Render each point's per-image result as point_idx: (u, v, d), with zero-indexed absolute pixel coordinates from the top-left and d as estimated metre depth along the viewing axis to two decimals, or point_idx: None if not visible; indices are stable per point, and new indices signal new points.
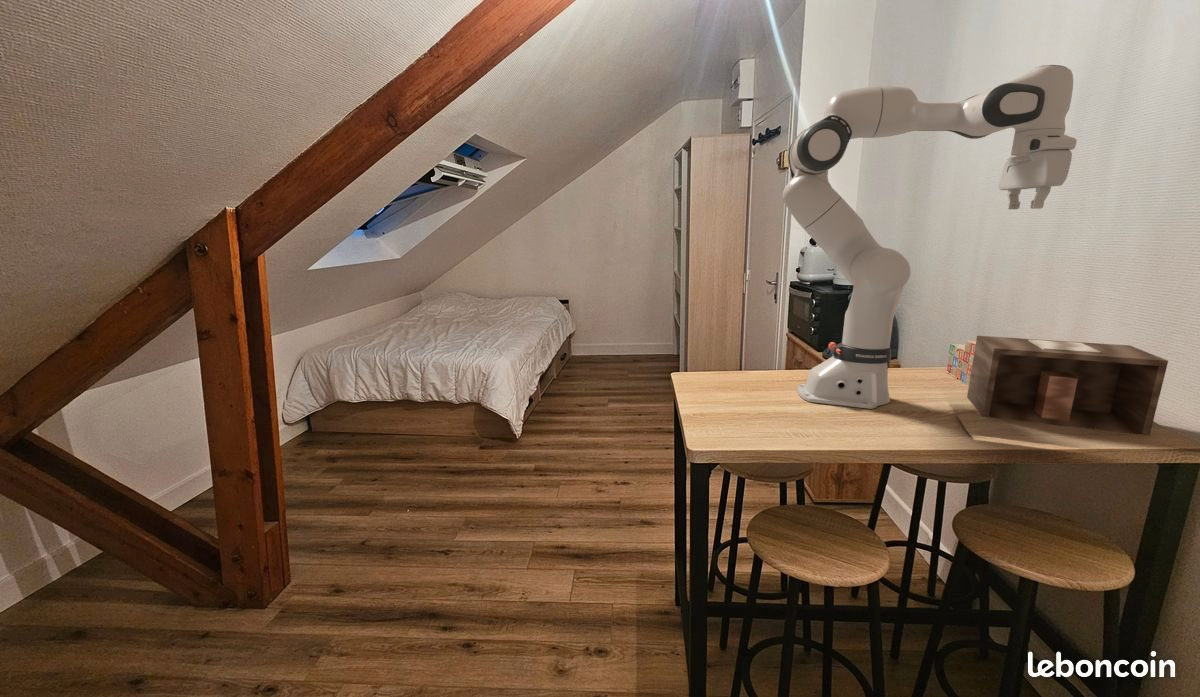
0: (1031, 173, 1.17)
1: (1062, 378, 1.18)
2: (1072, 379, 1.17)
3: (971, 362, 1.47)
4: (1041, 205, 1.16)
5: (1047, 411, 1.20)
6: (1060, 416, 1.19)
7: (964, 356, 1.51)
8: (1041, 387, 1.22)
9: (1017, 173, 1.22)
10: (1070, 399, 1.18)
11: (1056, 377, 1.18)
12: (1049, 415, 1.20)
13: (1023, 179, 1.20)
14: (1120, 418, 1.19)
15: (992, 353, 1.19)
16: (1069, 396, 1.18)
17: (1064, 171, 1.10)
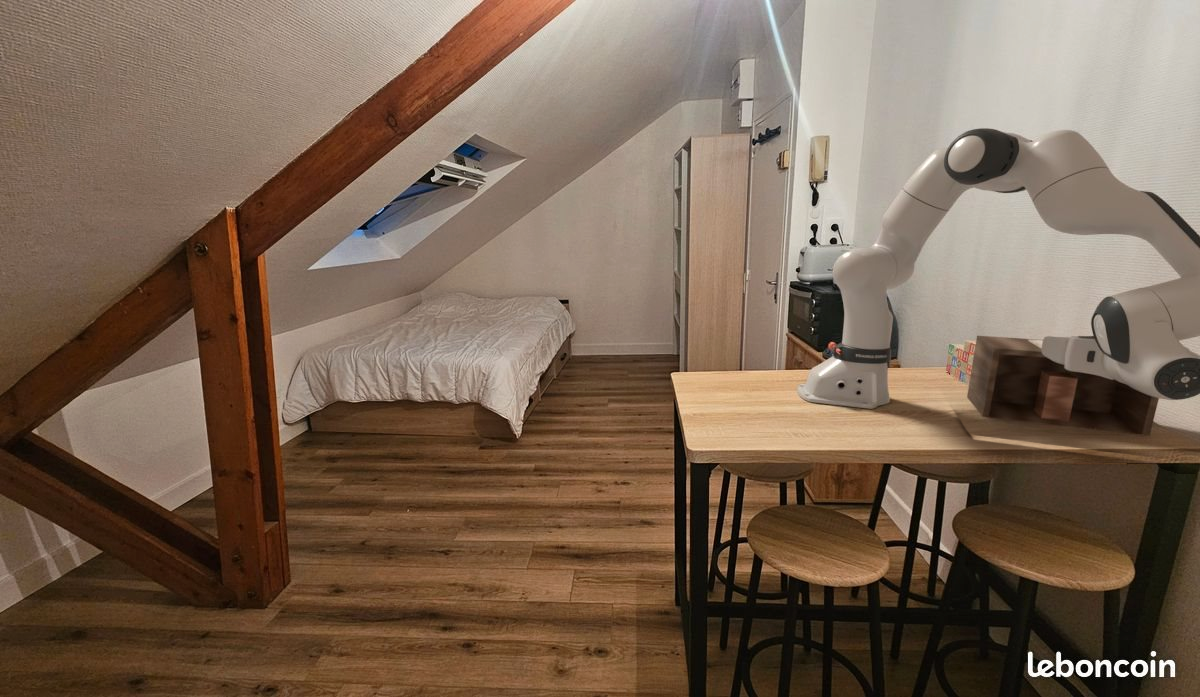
0: None
1: (1062, 378, 1.18)
2: (1072, 379, 1.17)
3: (970, 362, 1.47)
4: None
5: (1047, 411, 1.20)
6: (1060, 416, 1.19)
7: (963, 356, 1.51)
8: (1041, 387, 1.22)
9: None
10: (1070, 399, 1.18)
11: (1056, 377, 1.18)
12: (1049, 415, 1.20)
13: None
14: (1120, 418, 1.19)
15: (992, 353, 1.19)
16: (1069, 396, 1.18)
17: (1045, 353, 1.04)
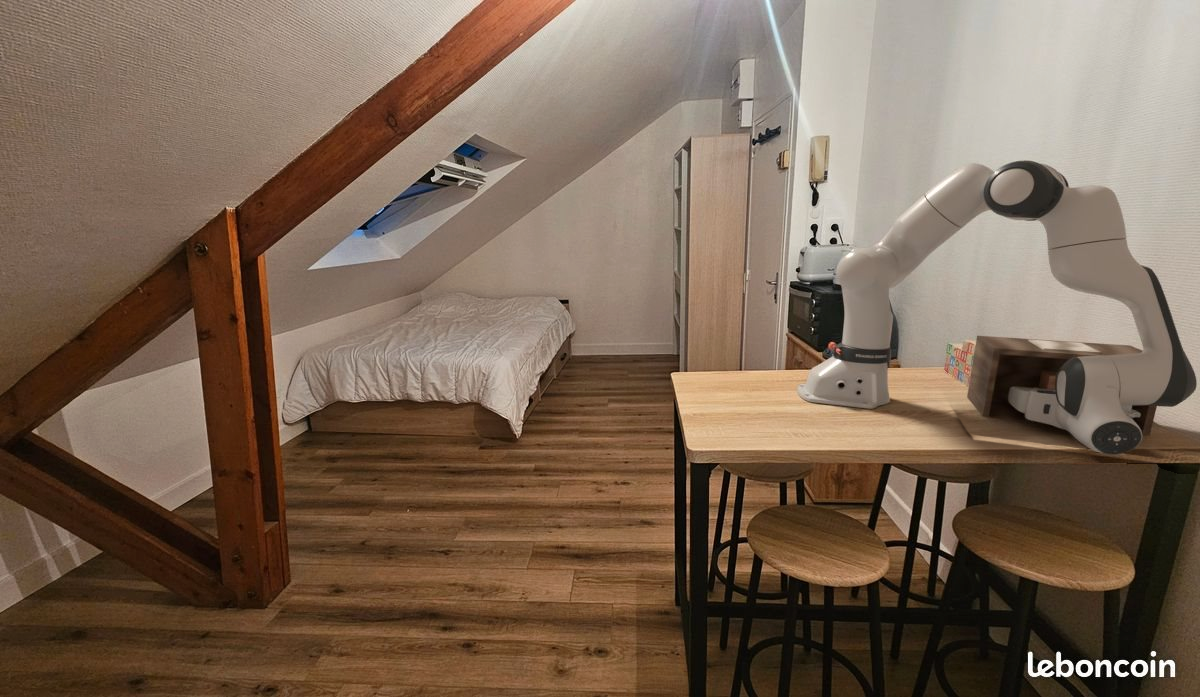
0: None
1: None
2: None
3: (968, 361, 1.48)
4: None
5: None
6: None
7: (961, 355, 1.52)
8: (1041, 387, 1.22)
9: None
10: None
11: None
12: None
13: None
14: None
15: (992, 353, 1.19)
16: None
17: (1010, 401, 1.19)
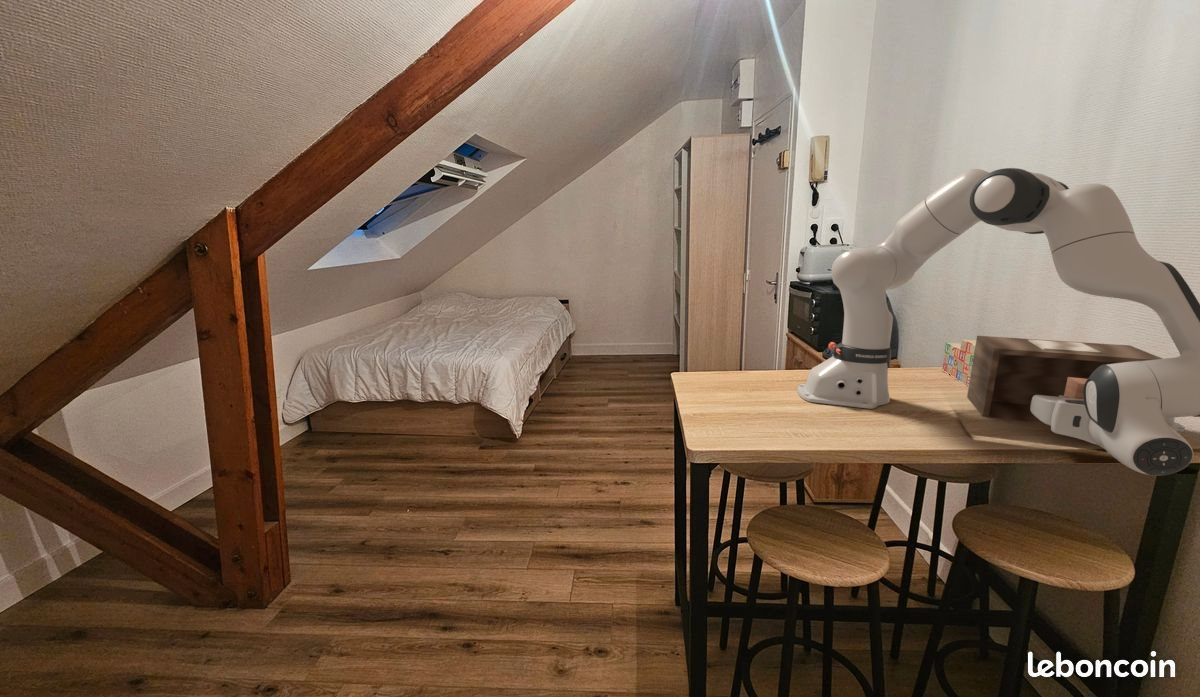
0: None
1: None
2: None
3: (967, 361, 1.48)
4: None
5: None
6: None
7: (960, 355, 1.52)
8: (1067, 395, 1.09)
9: None
10: None
11: None
12: None
13: None
14: None
15: (992, 353, 1.19)
16: None
17: (1033, 411, 1.06)
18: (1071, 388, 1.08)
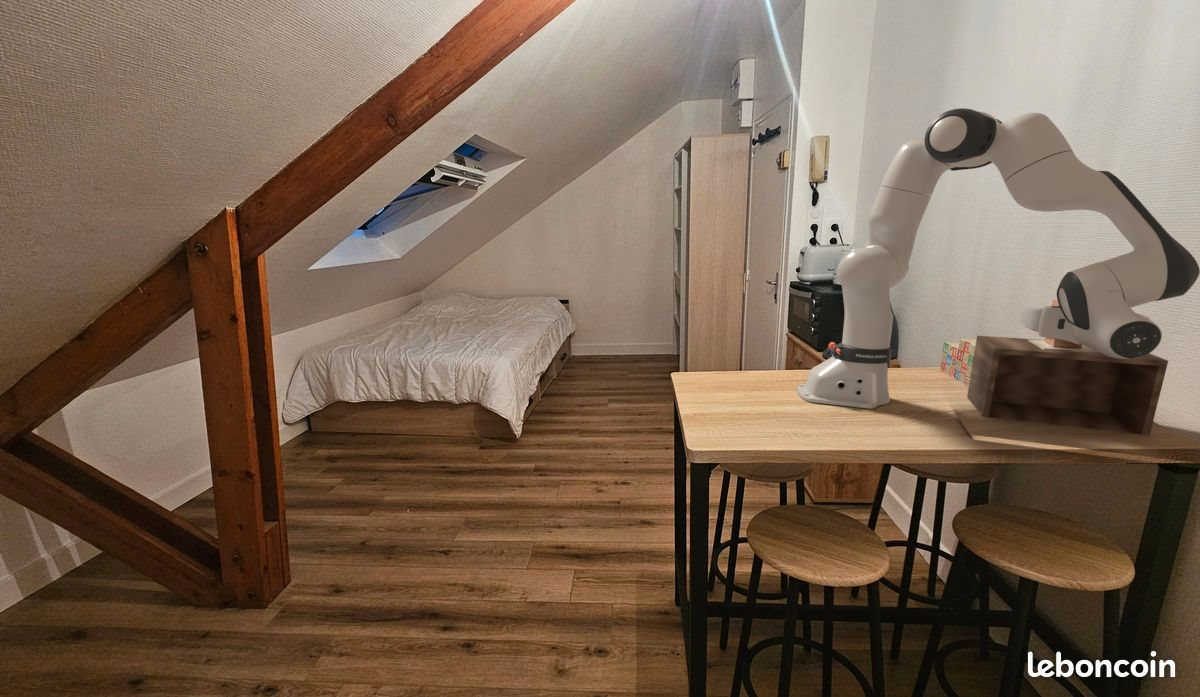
0: None
1: None
2: None
3: (965, 360, 1.49)
4: None
5: None
6: (1072, 344, 1.17)
7: (958, 354, 1.53)
8: None
9: None
10: None
11: None
12: (1061, 343, 1.17)
13: None
14: (1120, 418, 1.19)
15: (992, 353, 1.19)
16: None
17: (1023, 322, 1.16)
18: None
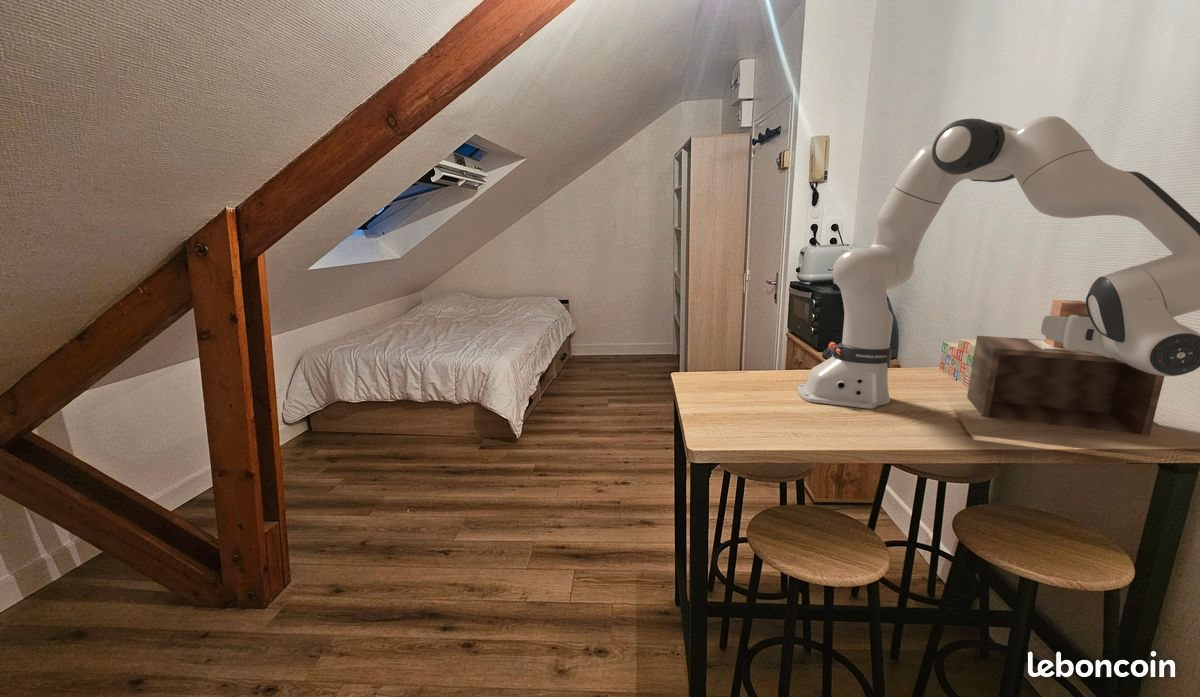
0: None
1: (1074, 304, 1.15)
2: (1085, 305, 1.14)
3: (964, 360, 1.49)
4: None
5: None
6: None
7: (957, 354, 1.53)
8: None
9: None
10: None
11: (1068, 303, 1.15)
12: (1061, 343, 1.17)
13: None
14: (1120, 418, 1.19)
15: (992, 353, 1.19)
16: None
17: (1045, 332, 1.05)
18: (1056, 308, 1.18)
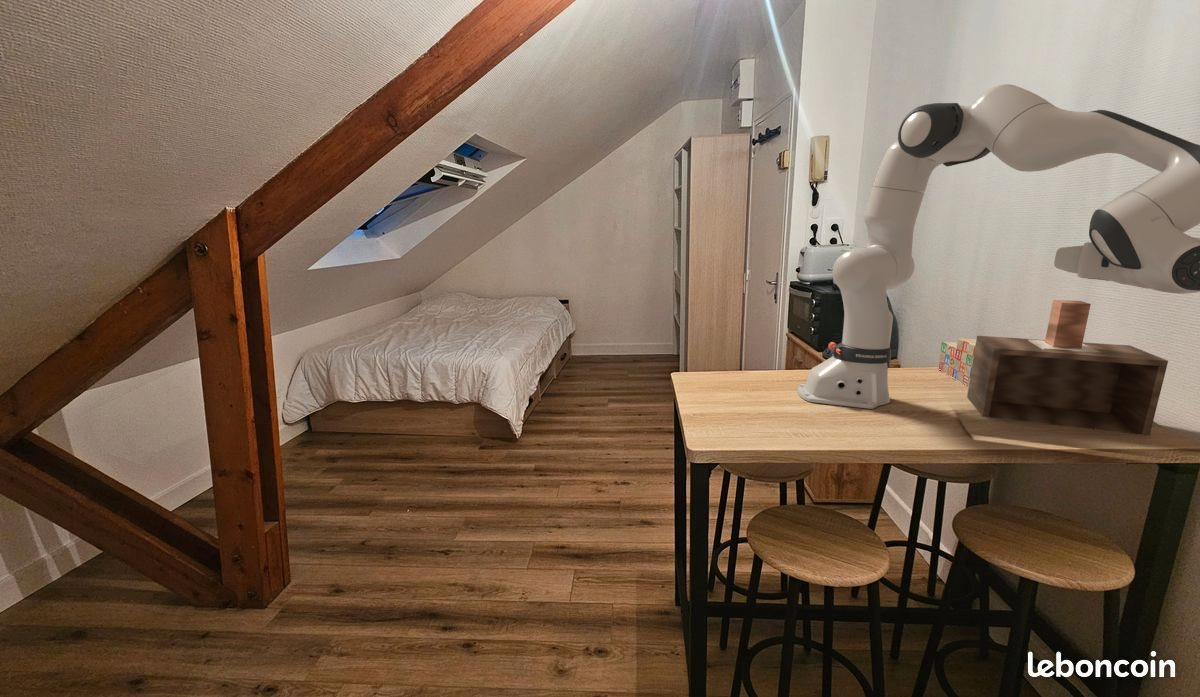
0: None
1: (1074, 304, 1.15)
2: (1085, 305, 1.14)
3: (963, 360, 1.50)
4: None
5: (1059, 339, 1.17)
6: (1072, 344, 1.17)
7: (956, 354, 1.54)
8: (1052, 316, 1.20)
9: None
10: (1083, 326, 1.15)
11: (1068, 303, 1.15)
12: (1061, 343, 1.17)
13: None
14: (1120, 418, 1.19)
15: (992, 353, 1.19)
16: (1082, 323, 1.15)
17: (1058, 264, 1.01)
18: (1056, 308, 1.18)
